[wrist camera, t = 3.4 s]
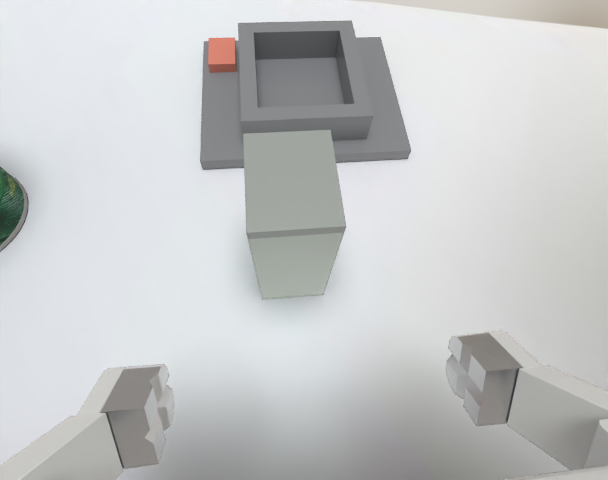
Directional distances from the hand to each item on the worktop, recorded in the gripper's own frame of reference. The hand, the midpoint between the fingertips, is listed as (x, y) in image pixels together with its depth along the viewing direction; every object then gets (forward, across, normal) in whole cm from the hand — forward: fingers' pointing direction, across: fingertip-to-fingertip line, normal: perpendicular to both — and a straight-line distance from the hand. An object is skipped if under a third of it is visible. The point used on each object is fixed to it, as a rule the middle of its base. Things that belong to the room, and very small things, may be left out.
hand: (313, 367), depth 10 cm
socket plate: (+24, -2, -7) cm, 25 cm away
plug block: (+14, 0, +3) cm, 14 cm away
